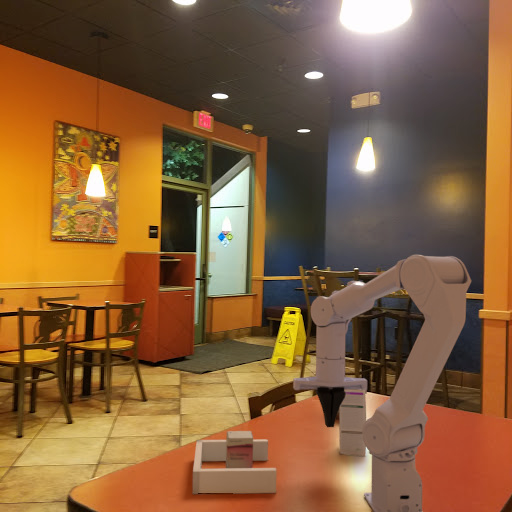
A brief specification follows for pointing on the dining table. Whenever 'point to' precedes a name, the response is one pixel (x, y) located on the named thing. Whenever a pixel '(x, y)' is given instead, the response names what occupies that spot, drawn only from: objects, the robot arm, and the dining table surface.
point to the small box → (239, 449)
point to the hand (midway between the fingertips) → (329, 425)
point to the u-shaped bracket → (231, 470)
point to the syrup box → (352, 422)
